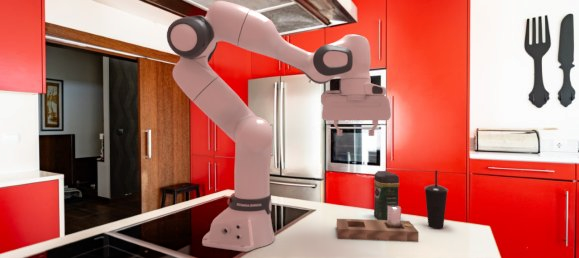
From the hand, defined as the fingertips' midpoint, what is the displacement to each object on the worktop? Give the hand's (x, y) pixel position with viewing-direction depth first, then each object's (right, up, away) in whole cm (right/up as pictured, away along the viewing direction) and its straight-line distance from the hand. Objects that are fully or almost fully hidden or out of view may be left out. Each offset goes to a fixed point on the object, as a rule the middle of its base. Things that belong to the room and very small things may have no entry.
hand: (355, 135), depth 92 cm
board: (+8, -33, +6) cm, 34 cm away
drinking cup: (+32, -33, +16) cm, 48 cm away
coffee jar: (+16, -33, +22) cm, 43 cm away
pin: (+13, -32, +5) cm, 35 cm away
